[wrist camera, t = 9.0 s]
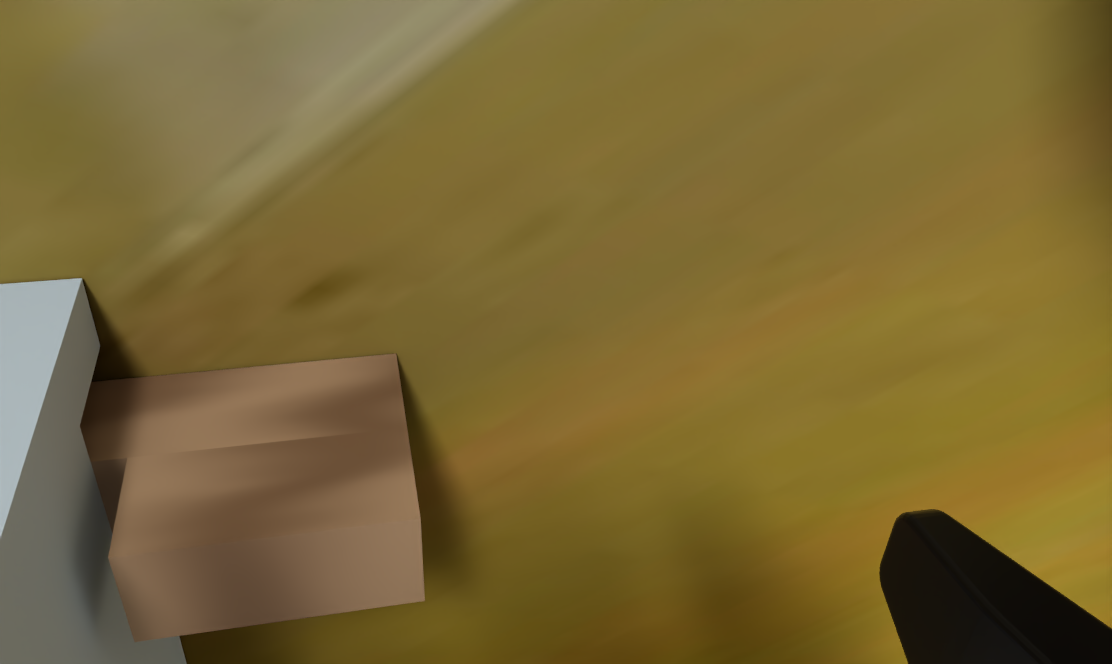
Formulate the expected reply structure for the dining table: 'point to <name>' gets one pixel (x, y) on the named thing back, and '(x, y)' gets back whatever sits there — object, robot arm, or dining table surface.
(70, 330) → the light blue rectangular panel
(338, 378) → the brown wooden block
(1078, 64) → the dining table surface
